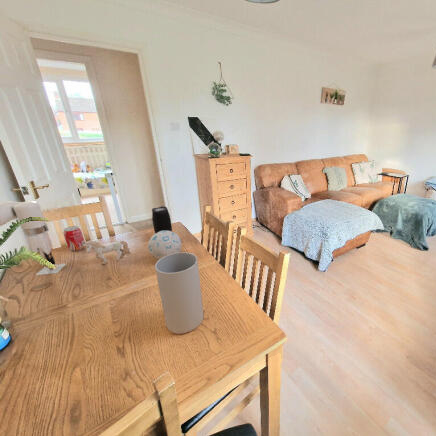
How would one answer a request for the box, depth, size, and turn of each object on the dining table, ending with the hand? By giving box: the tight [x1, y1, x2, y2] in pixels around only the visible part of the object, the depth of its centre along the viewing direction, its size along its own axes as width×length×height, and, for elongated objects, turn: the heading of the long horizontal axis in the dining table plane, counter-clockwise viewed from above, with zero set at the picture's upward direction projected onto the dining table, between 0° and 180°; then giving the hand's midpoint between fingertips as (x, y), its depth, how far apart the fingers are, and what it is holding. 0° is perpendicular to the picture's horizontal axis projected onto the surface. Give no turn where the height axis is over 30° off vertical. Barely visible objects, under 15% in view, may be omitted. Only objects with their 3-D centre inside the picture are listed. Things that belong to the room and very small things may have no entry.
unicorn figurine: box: [79, 239, 132, 265], centre depth 115 cm, size 7×20×13 cm, turn 142°
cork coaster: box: [30, 280, 52, 292], centre depth 99 cm, size 6×6×1 cm
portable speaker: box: [151, 206, 173, 234], centre depth 139 cm, size 9×9×20 cm
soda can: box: [62, 225, 86, 252], centre depth 125 cm, size 7×7×12 cm
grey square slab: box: [35, 262, 68, 276], centre depth 110 cm, size 8×8×2 cm
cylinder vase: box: [154, 251, 205, 335], centre depth 82 cm, size 12×12×25 cm
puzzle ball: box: [147, 230, 183, 260], centre depth 121 cm, size 15×15×15 cm
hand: (50, 265), depth 111 cm, fingers closed
